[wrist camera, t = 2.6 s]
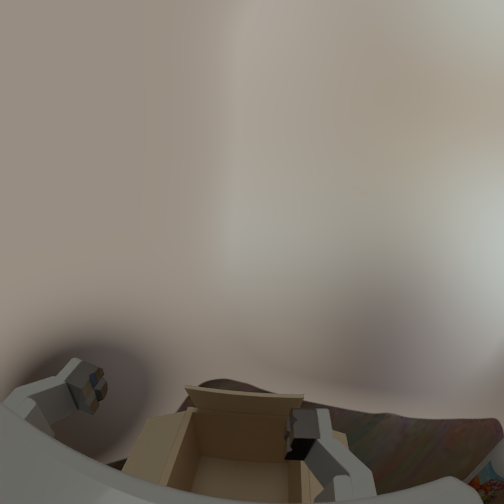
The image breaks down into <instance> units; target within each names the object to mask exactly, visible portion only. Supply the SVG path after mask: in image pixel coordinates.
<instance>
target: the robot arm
mask: <svg viewBox="0 0 504 504" xmlns="http://www.w3.org/2000/svg"><path fill="white" fill-rule="evenodd" d="M103 375H104V372H103V369H102V368H100V367H97V366H95V365H92V364H90V363H87V362H85V361H83V360H80V359H78V358H72V359H71V360H70V362H69V363H68V364H67V365H66V366H65V367H64V368H63V369H62V370H61V372H60V373H59V374H58V375H57V376H56V377H54V376H52V377H49V378H46V379H43V380H40V381H37V382H34V383H31V384H27V385H24V386H21V387H17V388H16V389H15V390H14V391H13V392H12V393H11V394H10V395H9V396H8V398H6V400H5V401H4V402H3V403H2V402H1V401H0V504H483V501H482V499H481V498H480V496H479V494H478V493H477V491H476V490H475V489H474V488H472V487H471V486H469V485H467V484H466V483H464V482H462V481H460V480H459V479H457V478H454V477H452V476H448V477H444V478H441V479H438V480H435V481H432V482H429V483H426V484H423V485H419V486H416V487H412V488H409V489H405V490H401V491H397V492H392V493H388V494H383V495H378V496H377V494H376V490H375V485H374V480H373V476H372V471H371V470H369V469H368V468H367V467H366V466H365V465H364V464H363V463H362V462H361V461H360V460H359V459H358V458H356V457H355V456H354V455H353V454H352V453H351V452H350V451H349V450H348V449H347V448H346V447H345V446H344V445H343V444H342V443H341V442H340V441H339V440H338V439H334V437H333V431H332V426H331V420H330V415H329V410H328V409H315V408H291V409H290V412H289V418H288V419H287V420H286V423H285V427H284V440H285V441H286V443H285V445H284V460H299V461H304V462H305V464H306V465H307V467H308V468H309V469H310V471H311V472H312V473H313V475H314V476H315V477H316V479H317V480H318V481H319V483H320V484H321V485H322V487H323V488H324V489H323V490H322V491H321V492H320V493H319V494H318V495H317V496H316V497H315V498H314V503H263V502H250V501H240V500H232V499H225V498H218V497H212V496H207V495H201V494H196V493H192V492H187V491H183V490H179V489H175V488H171V487H167V486H164V485H160V484H157V483H154V482H150V481H147V480H144V479H141V478H138V477H135V476H133V475H130V474H127V473H124V472H122V471H119V470H117V469H114V468H112V467H109V466H107V465H105V464H102V463H100V462H98V461H96V460H94V459H91V458H89V457H87V456H85V455H83V454H81V453H79V452H77V451H75V450H73V449H71V448H70V447H68V446H66V445H64V444H62V443H61V442H59V441H57V440H55V439H53V437H54V435H55V434H54V432H53V430H52V429H51V427H50V425H51V424H53V423H55V422H57V421H59V420H61V419H62V418H64V417H66V416H68V415H70V414H72V413H74V412H75V411H77V410H78V409H79V410H81V411H83V412H86V413H88V414H90V415H93V414H94V413H95V411H96V410H97V408H98V407H99V403H98V402H99V401H100V400H103V399H104V397H105V396H106V393H107V382H106V380H105V379H104V378H103Z"/></svg>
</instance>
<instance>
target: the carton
mask: <svg viewBox="0 0 504 504" xmlns="http://www.w3.org/2000/svg"><path fill="white" fill-rule="evenodd" d="M288 418H289V416H270V415H253V414H241V413H230V412H221V411H213V410H206V409H199V408H193V407H188V409H187V411H183V412H178V413H173V414H168V415H163V416H158V417H151V418H148V419H147V422H146V423H145V425H144V427H143V429H142V431H141V433H140V435H139V437H138V439H137V441H136V443H135V445H134V447H133V449H132V451H131V453H130V455H129V457H128V459H127V461H126V463H125V465H124V467H123V469H122V472H124V473H127V474H130V475H133V476H135V477H138V478H141V479H144V480H147V481H150V482H154V483H157V484H160V485H164V486H167V487H171V488H175V489H179V490H183V491H187V492H192V493H196V494H201V495H207V496H212V497H218V498H225V499H232V500H240V501H250V502H263V503H314V498H315V497H316V496H317V495H318V494H319V493H320V492H321V491H322V490H323V489H324V488H323V487H322V485H321V484H320V483H319V481H318V480H317V479H316V477H315V476H314V475H313V473H312V472H311V471H310V469H309V468H308V467H307V465H306V464H305V462H304V461H299V460H284V445H285V443H286V441H285V440H284V427H285V423H286V420H287V419H288ZM332 431H333V437H334V439H338V440H339V441H340V442H341V443H342V444H343V445H344V446H345V447H346V448H347V449H348V450H349V448H348V443H347V439H346V434H343V433H340V432H337V431H334V430H332Z"/></svg>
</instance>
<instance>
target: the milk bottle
mask: <svg viewBox="0 0 504 504" xmlns="http://www.w3.org/2000/svg"><path fill="white" fill-rule="evenodd" d="M463 482H464V483H466V484H467V485H469V486H471V487H472V488H474V489H475V490H476V491H477V493H478V494H479V496H480V498H481V499H482V501H483V504H488V503H489V502H491V501H492V500H493V499H494V498H495V497H497V496H498V495H499V494H500V493H501V492H502V491H504V438H503V439H502V440H501V441H500V442H499V443H498V444H497V445H496V446H495V448H494V449H493V450H492V451H491V452H490V453H489V454H488V455H487V456H486V458H485V459H484V460H483V461H482V462H481V463H480V464H479V465H478V466H477V467H476V468H475V469H474V470H473V471H472V473H471V474H470V475H469V476H468V477H467V478H466V479H465V480H464V481H463Z"/></svg>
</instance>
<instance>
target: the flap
mask: <svg viewBox="0 0 504 504" xmlns="http://www.w3.org/2000/svg"><path fill="white" fill-rule="evenodd" d="M185 389H186V391H187V393H188V394H189V396H190V398H191V399H192V401H193V403H194V404H195V406H196V408H203V409H210V410H217V411H226V412H236V413H247V414H261V415H287V416H289V412H290V409H291V408H300V405H301V403H302V401H303V399H304V394H268V393H252V392H239V391H229V390H219V389H211V388H203V387H196V386H189V385H185Z"/></svg>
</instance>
